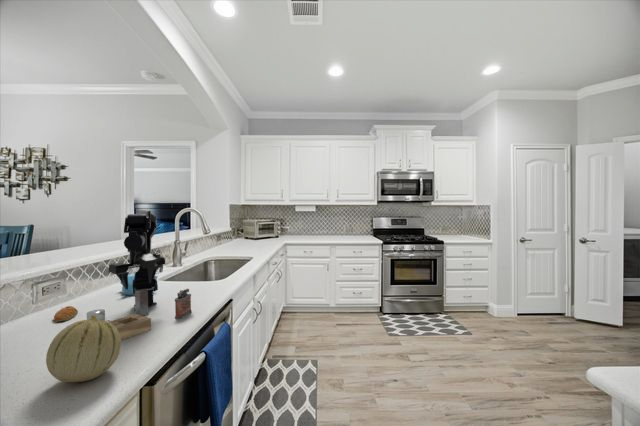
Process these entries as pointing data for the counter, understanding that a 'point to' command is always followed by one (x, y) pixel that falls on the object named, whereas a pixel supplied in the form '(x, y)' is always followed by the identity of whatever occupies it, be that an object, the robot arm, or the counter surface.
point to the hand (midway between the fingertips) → (139, 286)
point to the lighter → (182, 304)
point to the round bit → (96, 314)
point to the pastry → (65, 314)
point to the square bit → (141, 302)
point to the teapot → (131, 284)
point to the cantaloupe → (83, 350)
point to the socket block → (131, 325)
